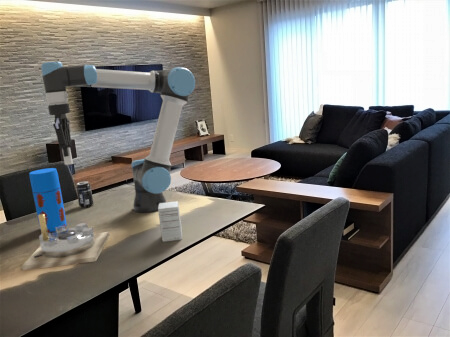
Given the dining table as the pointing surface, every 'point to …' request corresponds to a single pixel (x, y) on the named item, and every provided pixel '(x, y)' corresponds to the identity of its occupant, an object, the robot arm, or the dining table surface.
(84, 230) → the metal lathe chuck
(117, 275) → the dining table surface
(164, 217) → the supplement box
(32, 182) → the thermos
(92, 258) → the birch base board
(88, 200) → the beverage can
